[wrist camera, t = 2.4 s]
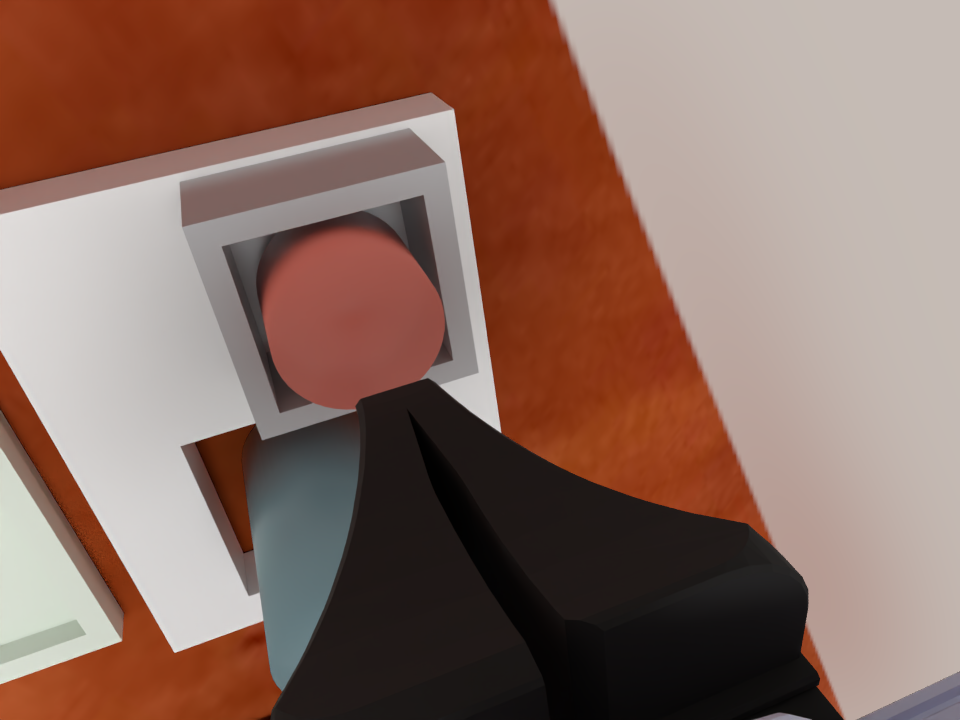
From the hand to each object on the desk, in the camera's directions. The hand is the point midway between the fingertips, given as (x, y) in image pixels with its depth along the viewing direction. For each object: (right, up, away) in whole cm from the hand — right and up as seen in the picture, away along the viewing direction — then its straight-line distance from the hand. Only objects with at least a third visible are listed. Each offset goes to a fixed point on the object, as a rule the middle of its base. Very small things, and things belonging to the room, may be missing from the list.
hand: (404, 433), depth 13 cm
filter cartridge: (-4, -2, +12) cm, 13 cm away
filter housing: (-5, +1, +10) cm, 11 cm away
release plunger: (-2, +3, +5) cm, 6 cm away
